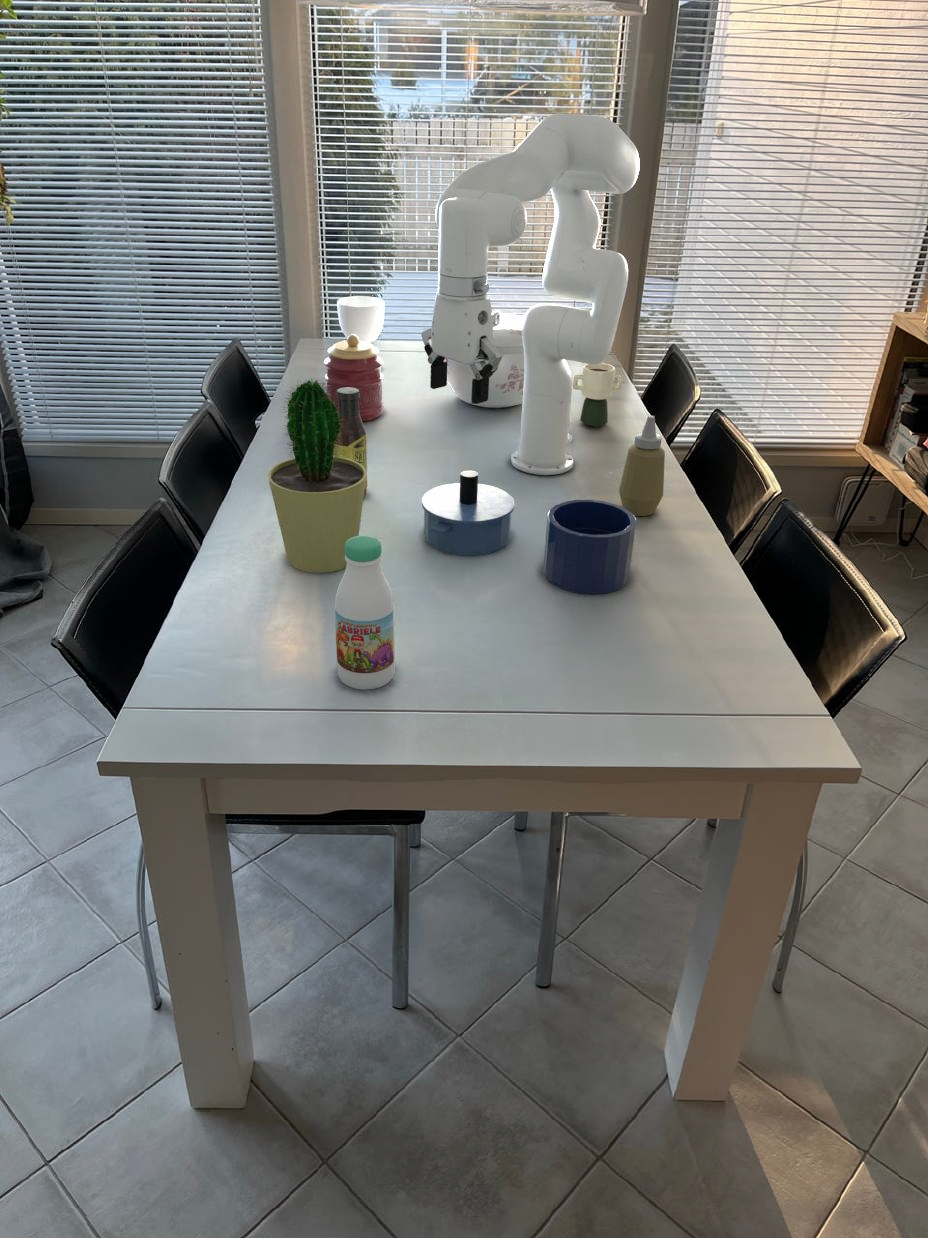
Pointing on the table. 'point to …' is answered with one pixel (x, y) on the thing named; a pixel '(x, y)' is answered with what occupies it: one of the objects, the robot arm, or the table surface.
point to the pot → (589, 546)
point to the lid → (468, 501)
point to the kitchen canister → (356, 374)
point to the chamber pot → (508, 374)
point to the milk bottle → (364, 618)
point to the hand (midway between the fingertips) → (458, 394)
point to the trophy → (596, 391)
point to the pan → (466, 536)
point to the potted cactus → (316, 485)
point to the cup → (361, 316)
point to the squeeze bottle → (643, 472)
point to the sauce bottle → (351, 428)
